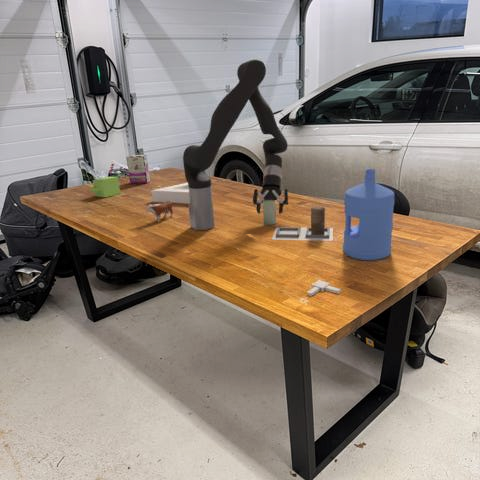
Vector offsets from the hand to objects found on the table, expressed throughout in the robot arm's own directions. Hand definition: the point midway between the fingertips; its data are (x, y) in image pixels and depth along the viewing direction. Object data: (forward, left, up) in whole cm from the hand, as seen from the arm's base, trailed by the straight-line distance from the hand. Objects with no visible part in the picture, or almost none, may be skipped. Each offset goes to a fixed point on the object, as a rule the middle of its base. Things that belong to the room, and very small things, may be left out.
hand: (269, 213), depth 183 cm
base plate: (+3, -18, -5) cm, 19 cm away
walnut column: (+8, -22, -4) cm, 23 cm away
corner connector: (-19, -58, -6) cm, 62 cm away
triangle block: (-8, +65, -6) cm, 66 cm away
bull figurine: (-34, +36, -6) cm, 50 cm away
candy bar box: (-20, +115, -6) cm, 117 cm away
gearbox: (-43, +99, -6) cm, 108 cm away
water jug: (+11, -44, -6) cm, 45 cm away
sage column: (0, 0, -5) cm, 5 cm away
